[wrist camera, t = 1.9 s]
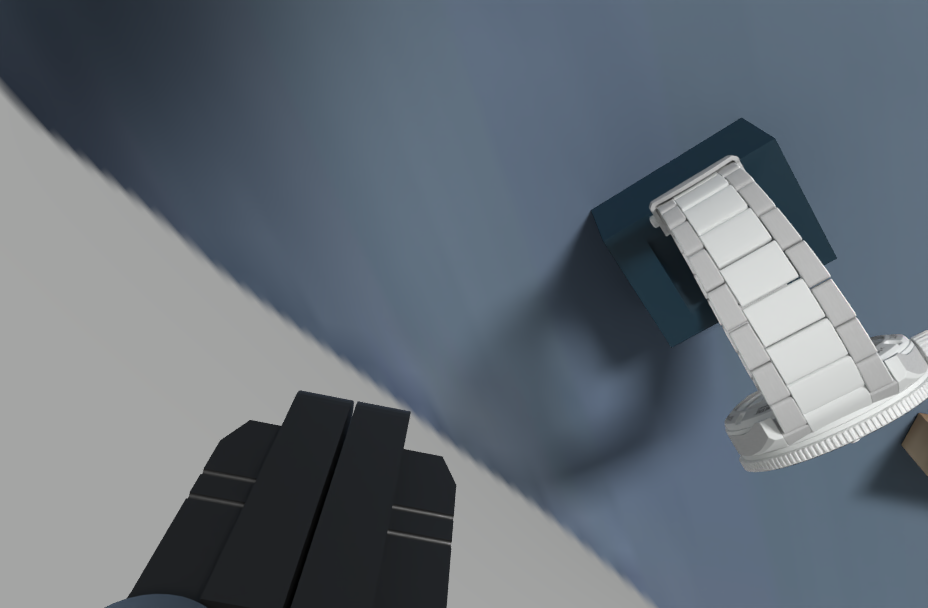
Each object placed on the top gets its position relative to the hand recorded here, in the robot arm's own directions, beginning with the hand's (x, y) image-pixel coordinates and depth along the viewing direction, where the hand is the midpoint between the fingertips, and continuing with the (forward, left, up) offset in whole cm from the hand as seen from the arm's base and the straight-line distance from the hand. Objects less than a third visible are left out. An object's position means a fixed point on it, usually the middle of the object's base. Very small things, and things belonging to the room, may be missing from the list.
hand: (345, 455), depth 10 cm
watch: (0, +9, -16) cm, 19 cm away
